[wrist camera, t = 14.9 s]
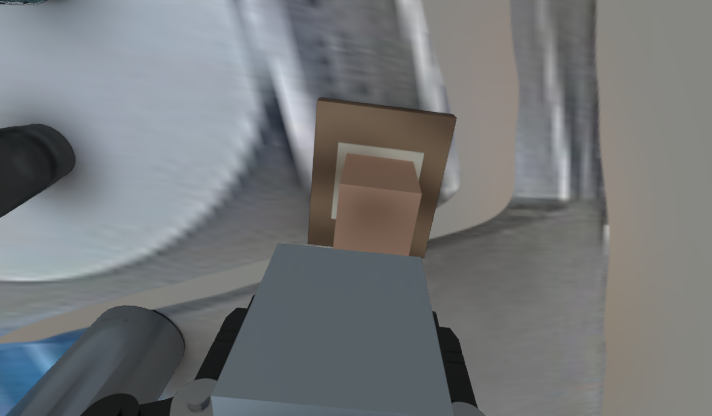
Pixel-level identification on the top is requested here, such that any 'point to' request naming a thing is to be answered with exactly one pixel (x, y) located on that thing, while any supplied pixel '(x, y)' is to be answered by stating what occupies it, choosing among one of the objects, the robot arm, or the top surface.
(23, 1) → the beverage bottle
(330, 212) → the board
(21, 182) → the beverage cup
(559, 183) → the top surface
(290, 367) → the slate block
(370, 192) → the terracotta block
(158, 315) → the robot arm
